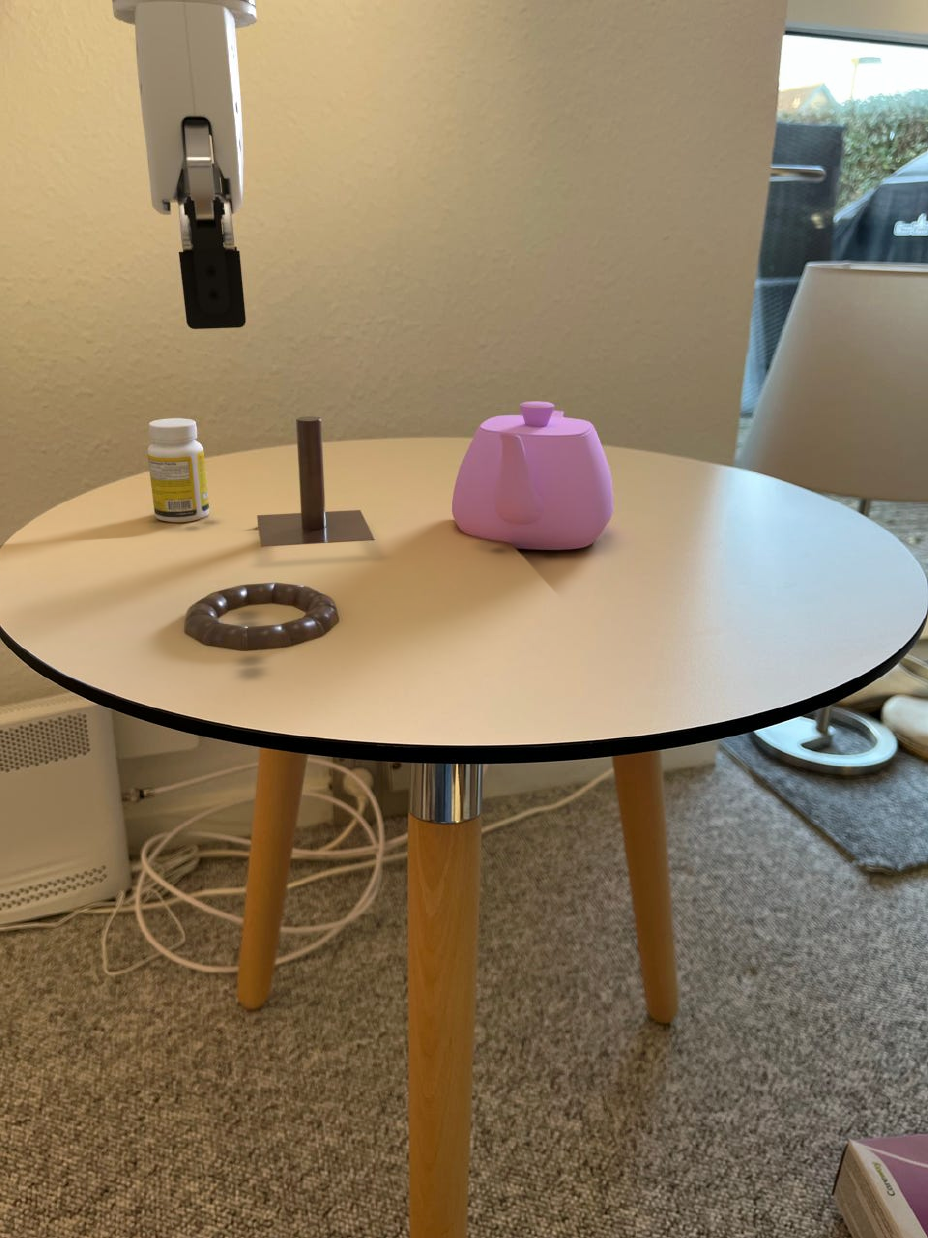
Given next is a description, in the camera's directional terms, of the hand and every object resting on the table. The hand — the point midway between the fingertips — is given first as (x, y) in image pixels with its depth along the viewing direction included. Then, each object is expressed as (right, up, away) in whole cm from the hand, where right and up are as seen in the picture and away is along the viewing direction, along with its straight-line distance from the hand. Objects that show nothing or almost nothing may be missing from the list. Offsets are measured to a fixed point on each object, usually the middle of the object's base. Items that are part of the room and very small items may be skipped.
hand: (217, 319), depth 59 cm
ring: (+2, -18, +4) cm, 19 cm away
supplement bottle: (-10, -9, +29) cm, 32 cm away
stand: (+2, -11, +23) cm, 26 cm away
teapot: (+21, -11, +24) cm, 34 cm away
